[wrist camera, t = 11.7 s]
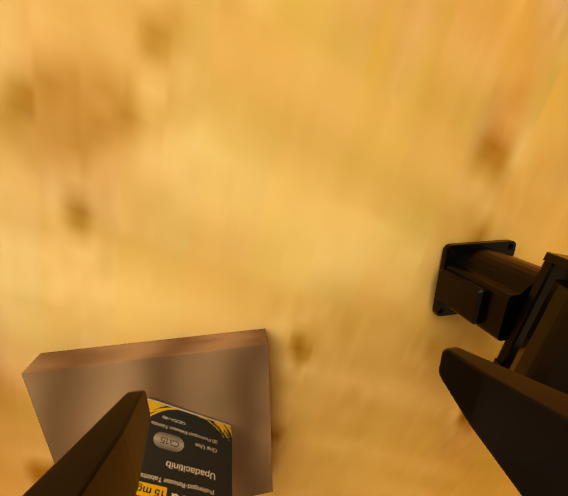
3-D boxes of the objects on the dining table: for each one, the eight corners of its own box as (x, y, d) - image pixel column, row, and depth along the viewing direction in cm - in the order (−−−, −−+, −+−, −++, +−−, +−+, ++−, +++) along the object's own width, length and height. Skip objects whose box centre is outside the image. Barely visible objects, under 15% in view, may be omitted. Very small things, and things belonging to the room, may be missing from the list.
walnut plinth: (265, 328, 23) (268, 344, 21) (269, 468, 28) (272, 491, 26) (40, 353, 20) (21, 373, 18) (91, 503, 25) (79, 531, 23)
